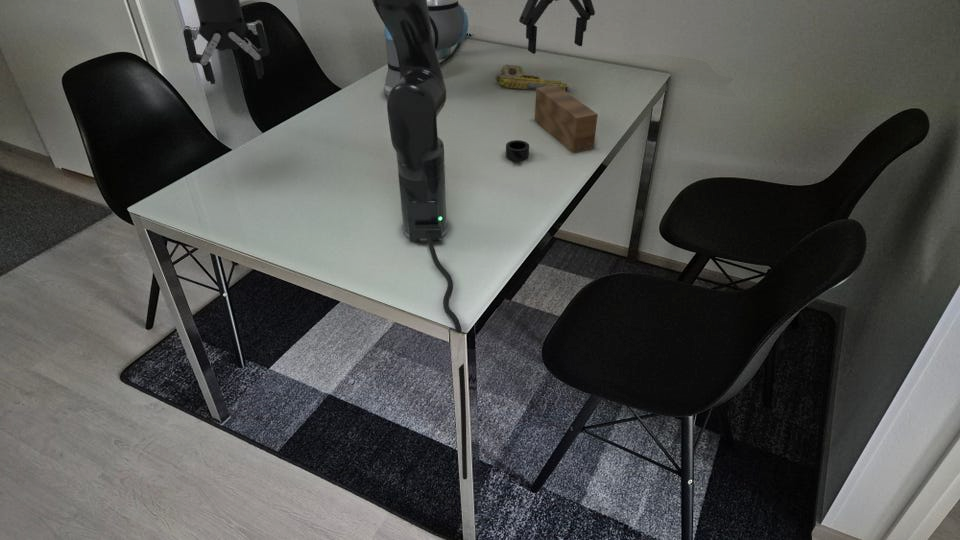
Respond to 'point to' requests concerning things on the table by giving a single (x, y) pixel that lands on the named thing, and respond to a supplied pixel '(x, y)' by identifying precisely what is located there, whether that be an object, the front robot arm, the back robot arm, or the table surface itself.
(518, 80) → the handgun
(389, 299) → the table surface
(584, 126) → the box
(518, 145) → the duct tape
